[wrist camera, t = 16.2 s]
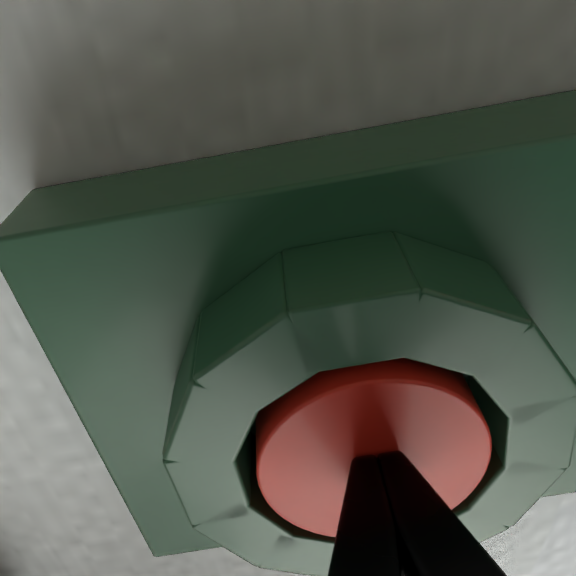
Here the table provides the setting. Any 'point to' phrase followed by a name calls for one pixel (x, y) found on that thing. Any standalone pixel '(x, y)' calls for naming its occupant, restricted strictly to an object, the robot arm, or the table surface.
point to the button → (368, 436)
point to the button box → (310, 307)
